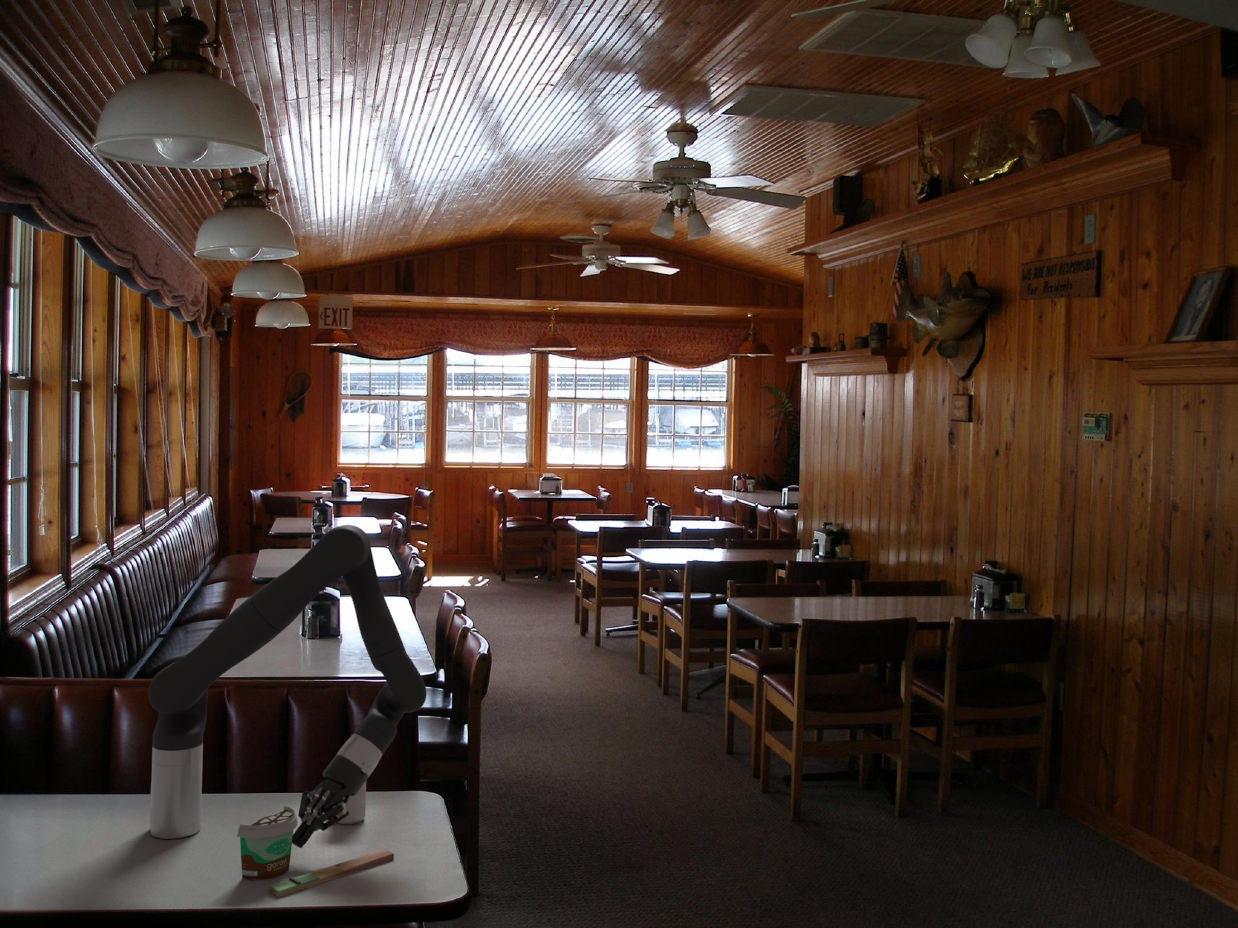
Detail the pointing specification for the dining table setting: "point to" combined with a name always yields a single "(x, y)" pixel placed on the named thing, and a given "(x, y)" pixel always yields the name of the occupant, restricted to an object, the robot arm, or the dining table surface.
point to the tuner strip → (330, 873)
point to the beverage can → (356, 807)
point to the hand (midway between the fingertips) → (295, 844)
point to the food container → (267, 845)
